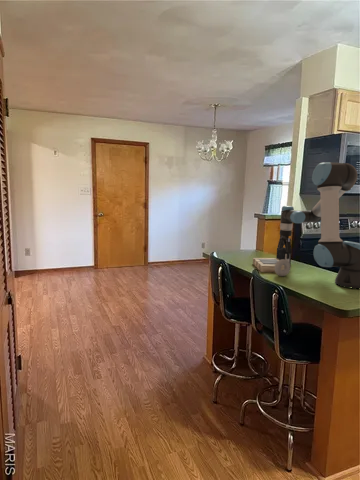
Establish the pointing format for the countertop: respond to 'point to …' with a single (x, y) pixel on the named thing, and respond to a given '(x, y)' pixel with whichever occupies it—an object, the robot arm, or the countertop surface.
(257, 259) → the stack base
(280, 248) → the box
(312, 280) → the countertop surface
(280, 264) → the grey wheel
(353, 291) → the countertop surface
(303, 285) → the countertop surface
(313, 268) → the countertop surface
